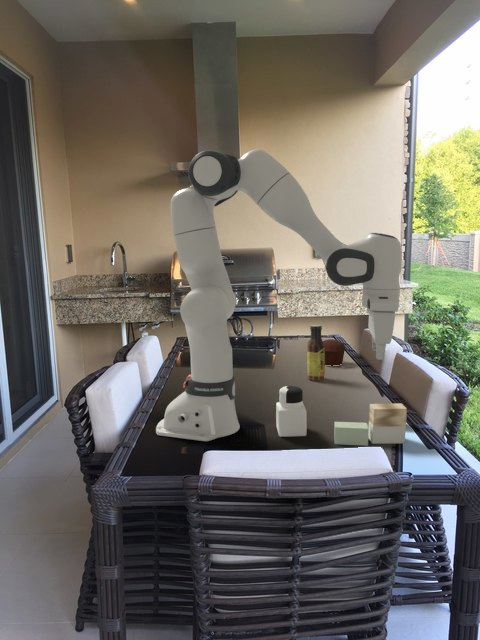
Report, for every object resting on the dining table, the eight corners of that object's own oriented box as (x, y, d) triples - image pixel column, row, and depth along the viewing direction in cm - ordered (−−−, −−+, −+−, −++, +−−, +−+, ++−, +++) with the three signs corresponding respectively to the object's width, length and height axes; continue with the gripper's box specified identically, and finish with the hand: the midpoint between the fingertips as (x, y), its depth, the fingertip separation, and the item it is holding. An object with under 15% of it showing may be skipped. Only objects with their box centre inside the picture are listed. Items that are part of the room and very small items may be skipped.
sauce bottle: (324, 382, 178) (324, 327, 175) (306, 381, 179) (306, 327, 176) (324, 377, 184) (325, 324, 181) (307, 376, 185) (307, 324, 182)
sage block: (334, 444, 123) (335, 427, 122) (334, 438, 127) (334, 421, 126) (367, 446, 122) (368, 428, 121) (366, 439, 126) (366, 422, 125)
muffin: (344, 360, 209) (344, 337, 207) (347, 367, 198) (347, 342, 196) (315, 360, 210) (316, 337, 208) (317, 367, 199) (317, 342, 197)
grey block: (372, 443, 123) (372, 426, 122) (368, 437, 127) (368, 420, 126) (404, 443, 123) (405, 426, 122) (399, 437, 127) (400, 420, 126)
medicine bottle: (302, 426, 135) (302, 383, 133) (306, 436, 128) (306, 391, 126) (276, 427, 135) (275, 384, 133) (279, 437, 128) (278, 392, 126)
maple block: (373, 426, 122) (373, 409, 121) (369, 421, 126) (369, 404, 125) (406, 426, 122) (406, 408, 121) (401, 420, 126) (401, 403, 125)
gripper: (364, 295, 133) (361, 345, 135) (370, 304, 113) (367, 363, 116) (388, 295, 132) (385, 346, 134) (399, 305, 112) (396, 364, 114)
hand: (377, 354), depth 125 cm, fingers open, 8 cm apart
